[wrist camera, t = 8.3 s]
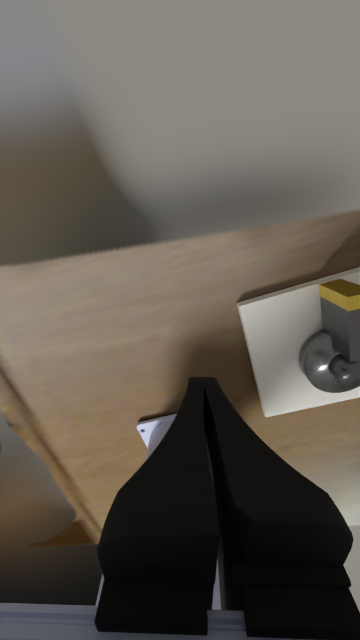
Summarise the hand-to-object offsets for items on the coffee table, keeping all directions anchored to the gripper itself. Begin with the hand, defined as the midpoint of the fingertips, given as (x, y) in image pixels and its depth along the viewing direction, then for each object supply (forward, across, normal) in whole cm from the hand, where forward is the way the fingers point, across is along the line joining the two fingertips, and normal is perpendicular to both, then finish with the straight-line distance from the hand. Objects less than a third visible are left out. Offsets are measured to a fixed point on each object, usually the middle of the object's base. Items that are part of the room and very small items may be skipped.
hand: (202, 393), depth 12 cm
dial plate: (+10, -12, +2) cm, 16 cm away
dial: (+9, -12, +1) cm, 15 cm away
